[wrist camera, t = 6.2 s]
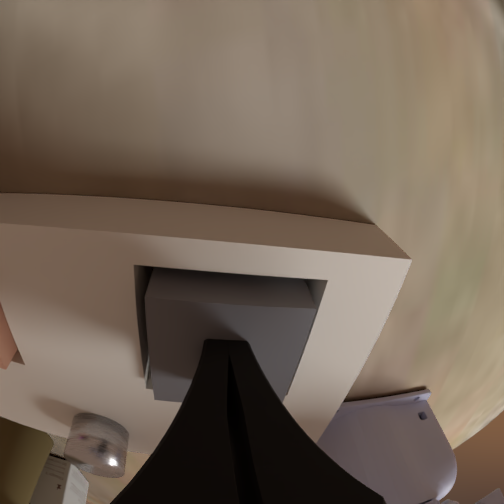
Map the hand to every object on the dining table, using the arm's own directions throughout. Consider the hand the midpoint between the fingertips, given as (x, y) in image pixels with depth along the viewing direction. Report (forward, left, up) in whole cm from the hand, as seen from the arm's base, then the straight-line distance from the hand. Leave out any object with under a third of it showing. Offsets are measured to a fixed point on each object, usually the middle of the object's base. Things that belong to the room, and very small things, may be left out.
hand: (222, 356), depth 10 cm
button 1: (0, 0, -4) cm, 4 cm away
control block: (+6, +3, -4) cm, 8 cm away
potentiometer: (+6, +8, -1) cm, 10 cm away
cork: (+17, +18, -4) cm, 25 cm away
